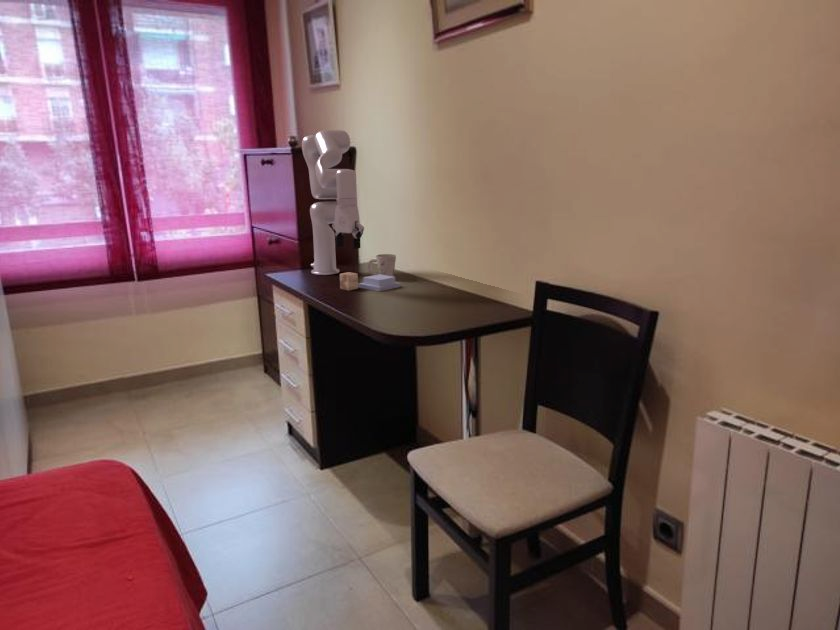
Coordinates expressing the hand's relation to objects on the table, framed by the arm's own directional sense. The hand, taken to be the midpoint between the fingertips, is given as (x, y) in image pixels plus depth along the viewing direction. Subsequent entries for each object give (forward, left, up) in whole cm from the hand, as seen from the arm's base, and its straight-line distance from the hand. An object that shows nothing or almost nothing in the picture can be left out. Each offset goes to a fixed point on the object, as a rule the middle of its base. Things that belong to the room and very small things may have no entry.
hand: (348, 247), depth 230 cm
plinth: (+7, +10, -16) cm, 20 cm away
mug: (-5, +23, -17) cm, 29 cm away
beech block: (0, 0, -16) cm, 17 cm away
